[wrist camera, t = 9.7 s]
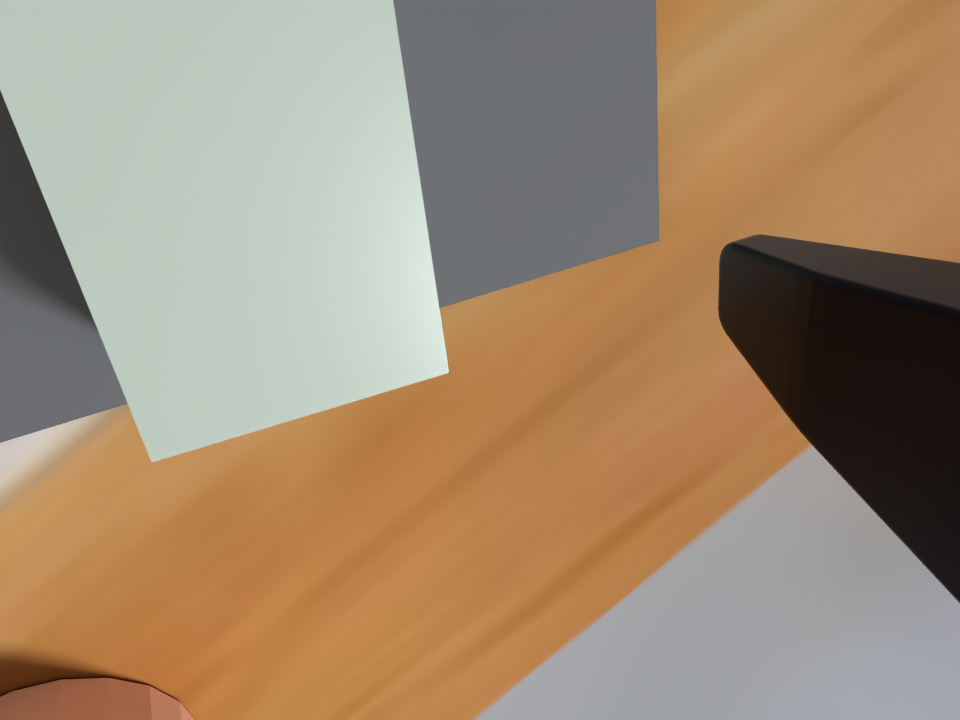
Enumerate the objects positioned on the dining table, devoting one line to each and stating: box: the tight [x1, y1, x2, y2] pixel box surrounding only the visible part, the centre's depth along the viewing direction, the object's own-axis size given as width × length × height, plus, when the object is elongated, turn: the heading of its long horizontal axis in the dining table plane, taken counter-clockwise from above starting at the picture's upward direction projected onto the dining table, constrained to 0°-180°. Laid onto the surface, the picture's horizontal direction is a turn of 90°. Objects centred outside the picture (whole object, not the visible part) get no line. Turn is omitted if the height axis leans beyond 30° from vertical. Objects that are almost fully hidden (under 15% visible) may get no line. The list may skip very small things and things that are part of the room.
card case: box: [0, 0, 449, 462], centre depth 15 cm, size 9×6×4 cm, turn 7°
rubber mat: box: [0, 0, 659, 442], centre depth 17 cm, size 19×11×1 cm, turn 99°
